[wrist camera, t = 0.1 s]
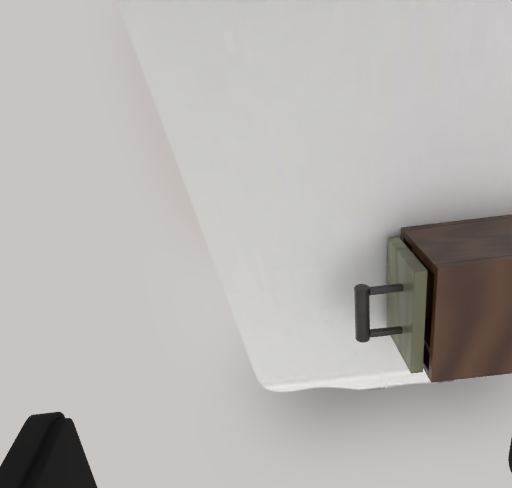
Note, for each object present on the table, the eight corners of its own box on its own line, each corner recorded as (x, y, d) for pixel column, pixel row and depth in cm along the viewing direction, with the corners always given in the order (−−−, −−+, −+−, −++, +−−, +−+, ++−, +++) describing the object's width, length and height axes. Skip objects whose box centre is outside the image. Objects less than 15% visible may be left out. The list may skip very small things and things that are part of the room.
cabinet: (398, 326, 53) (431, 382, 44) (400, 227, 48) (438, 268, 39) (523, 312, 53) (580, 365, 44) (538, 211, 48) (606, 248, 39)
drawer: (346, 333, 52) (363, 379, 45) (342, 243, 47) (361, 278, 40) (504, 314, 52) (546, 358, 44) (516, 222, 47) (566, 254, 40)
